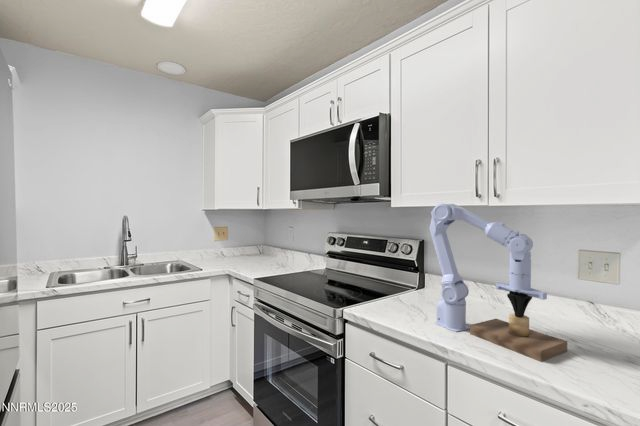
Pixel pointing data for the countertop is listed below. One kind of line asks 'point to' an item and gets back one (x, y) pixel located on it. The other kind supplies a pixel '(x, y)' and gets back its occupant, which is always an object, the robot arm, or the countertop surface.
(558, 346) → the walnut board
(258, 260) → the countertop surface
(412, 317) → the countertop surface
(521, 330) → the oak peg
